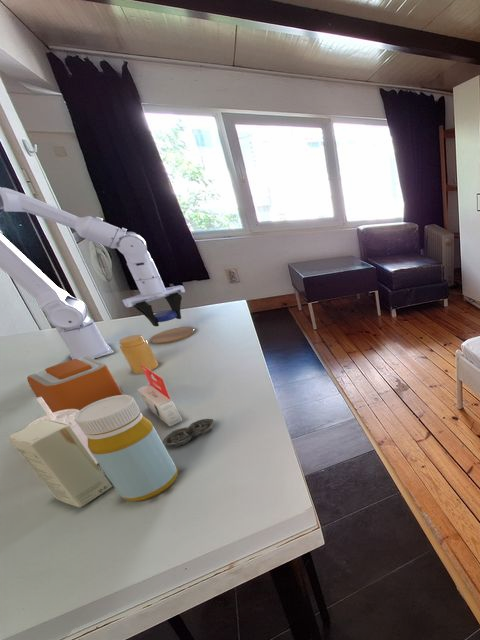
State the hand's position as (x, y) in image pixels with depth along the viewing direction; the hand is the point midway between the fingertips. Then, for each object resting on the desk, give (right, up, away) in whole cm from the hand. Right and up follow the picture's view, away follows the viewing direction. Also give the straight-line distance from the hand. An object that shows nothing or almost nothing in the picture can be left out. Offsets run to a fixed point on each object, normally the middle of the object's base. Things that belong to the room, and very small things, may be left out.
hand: (167, 322), depth 109 cm
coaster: (0, -4, +2) cm, 4 cm away
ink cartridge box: (+29, -22, -35) cm, 50 cm away
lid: (0, +2, -1) cm, 2 cm away
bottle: (+41, -30, -52) cm, 72 cm away
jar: (+8, -13, -16) cm, 23 cm away
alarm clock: (+17, -23, -37) cm, 46 cm away
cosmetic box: (+31, -31, -53) cm, 68 cm away
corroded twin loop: (+39, -24, -41) cm, 62 cm away
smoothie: (+25, -28, -47) cm, 61 cm away
